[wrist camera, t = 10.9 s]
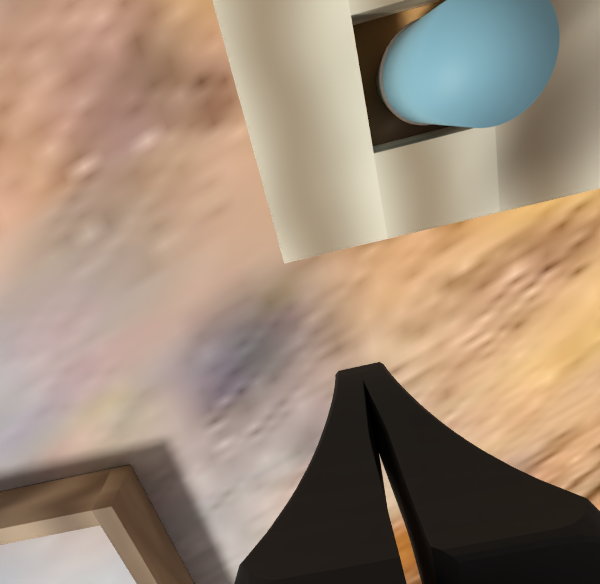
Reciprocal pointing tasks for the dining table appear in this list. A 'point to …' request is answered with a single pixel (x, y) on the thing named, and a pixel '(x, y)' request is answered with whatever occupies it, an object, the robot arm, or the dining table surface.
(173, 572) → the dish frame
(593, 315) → the dining table surface
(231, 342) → the dining table surface
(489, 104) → the peg
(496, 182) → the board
